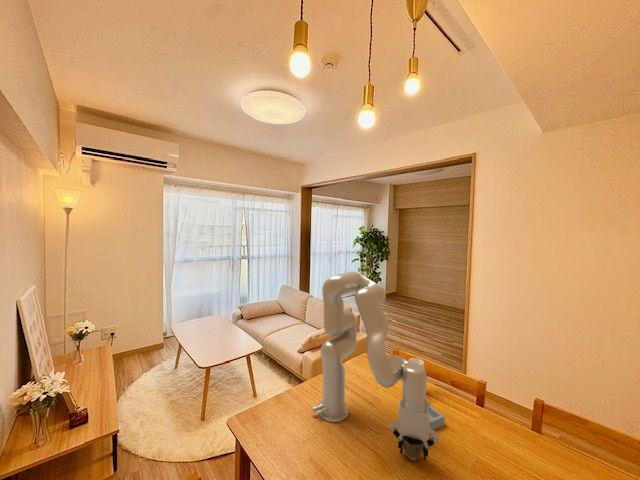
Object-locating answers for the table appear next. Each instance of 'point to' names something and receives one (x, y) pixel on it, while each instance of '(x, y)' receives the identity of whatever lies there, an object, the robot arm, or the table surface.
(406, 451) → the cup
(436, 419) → the open box
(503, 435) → the table surface
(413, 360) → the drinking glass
